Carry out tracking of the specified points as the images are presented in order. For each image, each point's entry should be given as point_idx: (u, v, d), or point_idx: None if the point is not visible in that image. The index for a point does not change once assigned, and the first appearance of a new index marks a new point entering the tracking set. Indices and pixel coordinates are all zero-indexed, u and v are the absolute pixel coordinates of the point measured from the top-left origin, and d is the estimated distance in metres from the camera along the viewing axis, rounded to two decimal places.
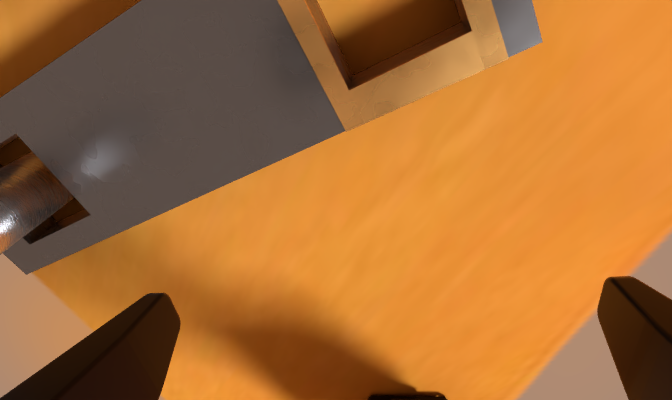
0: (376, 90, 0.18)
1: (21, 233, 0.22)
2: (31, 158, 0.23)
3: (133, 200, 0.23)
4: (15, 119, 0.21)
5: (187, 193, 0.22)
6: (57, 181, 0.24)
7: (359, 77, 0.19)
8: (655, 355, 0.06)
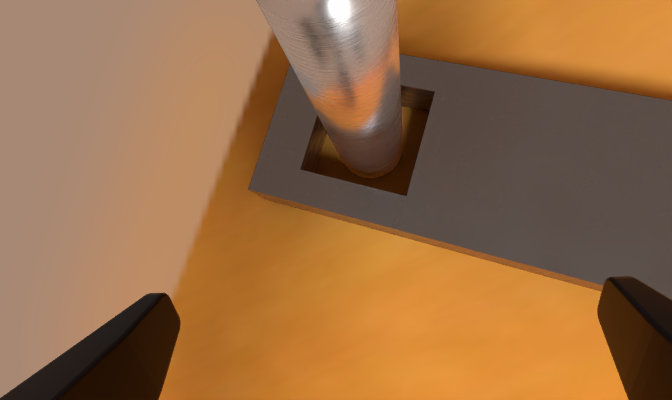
0: None
1: (373, 146, 0.18)
2: None
3: (471, 219, 0.19)
4: (450, 84, 0.20)
5: (539, 258, 0.18)
6: (399, 149, 0.21)
7: None
8: (655, 355, 0.06)
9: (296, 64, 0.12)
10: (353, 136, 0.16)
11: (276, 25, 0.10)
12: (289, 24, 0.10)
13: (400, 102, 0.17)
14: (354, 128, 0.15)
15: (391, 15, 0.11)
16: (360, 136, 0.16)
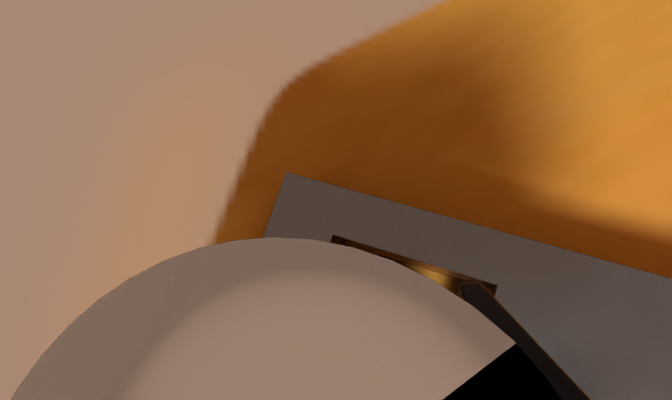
0: None
1: None
2: None
3: None
4: (523, 274, 0.13)
5: None
6: None
7: None
8: None
9: None
10: None
11: None
12: None
13: None
14: None
15: None
16: None
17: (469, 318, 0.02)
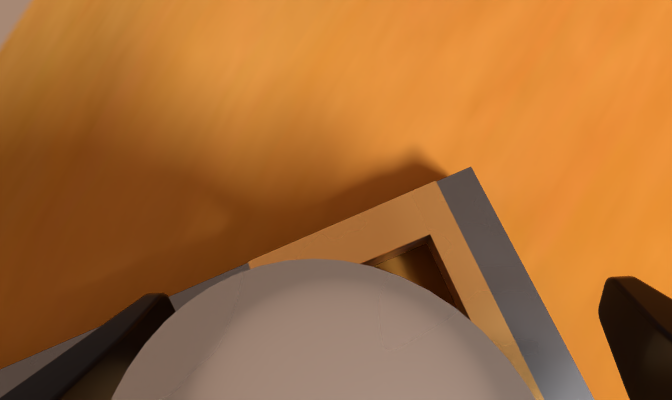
0: None
1: None
2: None
3: None
4: None
5: None
6: None
7: None
8: (656, 355, 0.06)
9: None
10: None
11: None
12: None
13: None
14: None
15: None
16: None
17: (453, 316, 0.03)
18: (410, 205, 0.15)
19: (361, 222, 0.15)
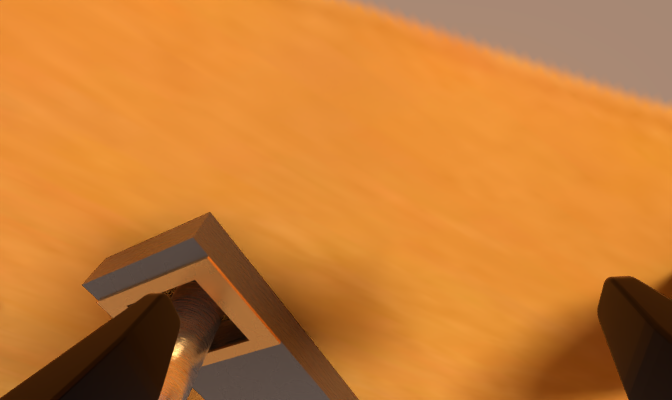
0: (246, 327, 0.25)
1: (197, 349, 0.23)
2: (175, 291, 0.26)
3: None
4: None
5: None
6: (200, 293, 0.25)
7: None
8: (655, 355, 0.06)
9: None
10: (191, 381, 0.22)
11: None
12: None
13: None
14: (183, 395, 0.21)
15: None
16: (189, 378, 0.22)
17: None
18: (115, 313, 0.26)
19: None
